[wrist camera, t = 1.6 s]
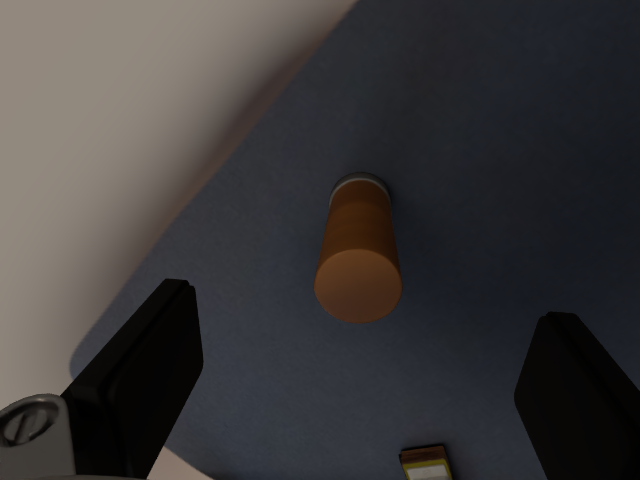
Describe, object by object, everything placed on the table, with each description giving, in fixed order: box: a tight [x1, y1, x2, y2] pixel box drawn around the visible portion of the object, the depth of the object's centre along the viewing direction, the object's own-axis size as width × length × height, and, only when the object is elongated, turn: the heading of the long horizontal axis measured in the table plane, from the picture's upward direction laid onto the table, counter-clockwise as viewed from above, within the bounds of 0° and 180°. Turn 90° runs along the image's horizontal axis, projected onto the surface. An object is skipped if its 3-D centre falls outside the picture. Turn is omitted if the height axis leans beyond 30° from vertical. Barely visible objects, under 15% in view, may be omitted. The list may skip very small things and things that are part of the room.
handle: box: [314, 172, 403, 323], centre depth 16 cm, size 3×3×8 cm
